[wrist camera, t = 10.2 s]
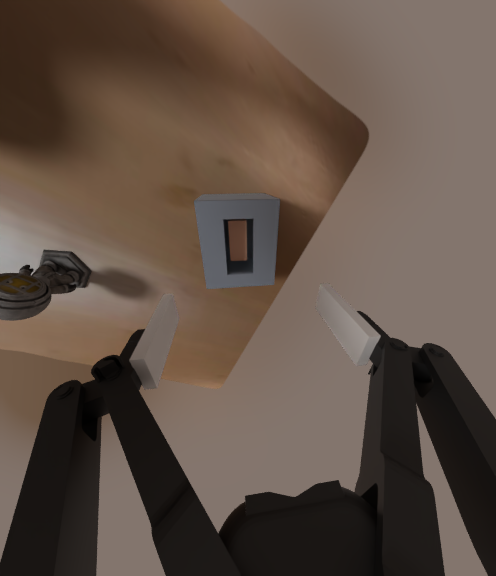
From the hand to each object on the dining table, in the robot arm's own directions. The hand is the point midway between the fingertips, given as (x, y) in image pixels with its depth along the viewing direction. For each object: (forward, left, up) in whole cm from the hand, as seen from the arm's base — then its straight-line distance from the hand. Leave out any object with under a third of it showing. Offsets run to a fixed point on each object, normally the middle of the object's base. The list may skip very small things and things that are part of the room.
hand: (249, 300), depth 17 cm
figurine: (+7, -37, -27) cm, 46 cm away
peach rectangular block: (0, 0, -26) cm, 26 cm away
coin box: (0, 0, -27) cm, 27 cm away
